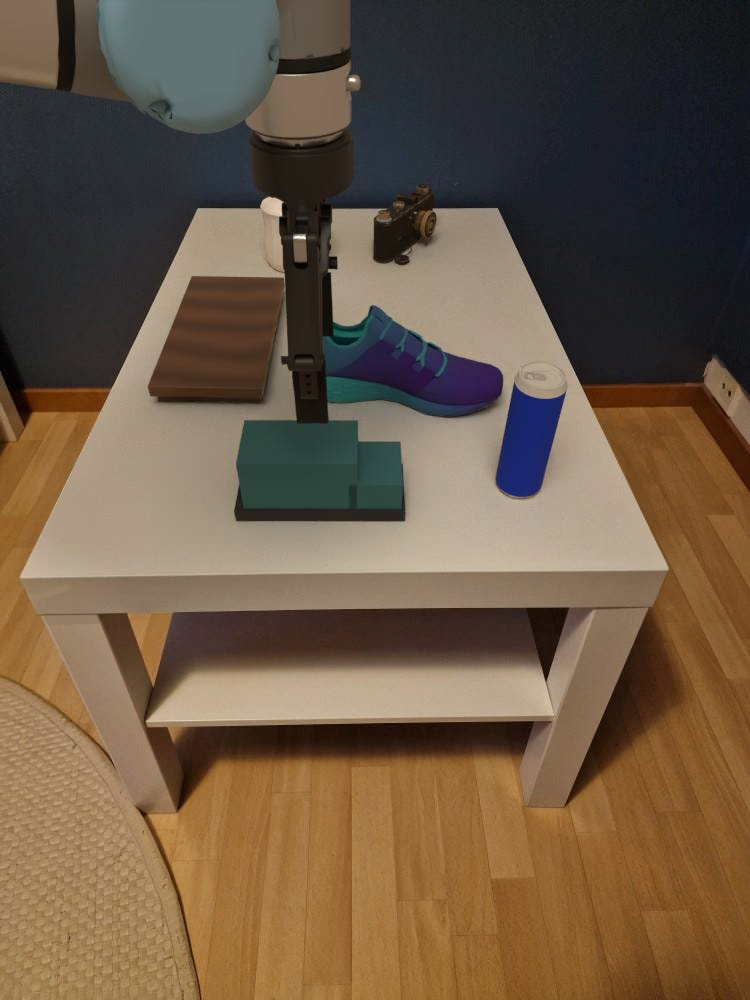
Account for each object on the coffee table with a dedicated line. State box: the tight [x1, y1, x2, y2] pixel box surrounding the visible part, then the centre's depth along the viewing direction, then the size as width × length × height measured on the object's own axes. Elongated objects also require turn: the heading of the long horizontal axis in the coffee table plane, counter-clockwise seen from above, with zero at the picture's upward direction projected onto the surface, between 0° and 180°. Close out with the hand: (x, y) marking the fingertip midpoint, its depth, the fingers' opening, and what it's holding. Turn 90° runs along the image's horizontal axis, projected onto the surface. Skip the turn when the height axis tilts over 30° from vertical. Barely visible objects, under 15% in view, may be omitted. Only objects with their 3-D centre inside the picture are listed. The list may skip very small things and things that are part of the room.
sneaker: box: [322, 304, 504, 418], centre depth 85 cm, size 10×26×12 cm, turn 81°
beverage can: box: [494, 360, 568, 499], centre depth 72 cm, size 5×5×15 cm
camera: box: [372, 183, 438, 266], centre depth 116 cm, size 16×7×8 cm, turn 148°
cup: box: [259, 196, 285, 274], centre depth 110 cm, size 10×10×10 cm
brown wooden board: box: [147, 275, 285, 404], centre depth 95 cm, size 28×14×3 cm, turn 0°
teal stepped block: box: [233, 419, 406, 522], centre depth 73 cm, size 18×8×8 cm, turn 91°
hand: (316, 374), depth 64 cm, fingers open, 13 cm apart
